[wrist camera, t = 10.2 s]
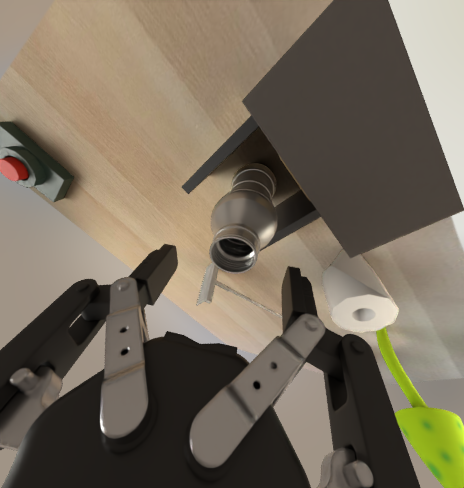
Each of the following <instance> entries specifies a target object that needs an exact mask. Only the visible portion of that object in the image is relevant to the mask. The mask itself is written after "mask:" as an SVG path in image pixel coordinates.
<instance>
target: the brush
mask: <svg viewBox="0 0 464 488" xmlns="http://www.w3.org/2000/svg"><path fill="white" fill-rule="evenodd" d="M218 269H219V268H218V267H216V266H215V265H214V263H213V262H212V263H211V264H210V265H209V266H208V267H206V271H205V272H206V273H205V275H204V276H205V277H203V278H204V279H203V280H204V281H202V282H203V283H202V285H201V290H200V291H201V292H199V293H200V294H199V297H198V298H199V299H197V300H198V301H197V304H196V305H199V304H201V303H203V302H207V303H211V302H212V297H213V292H214V288H215V285H217V286H219V287H221V288H223V289H225V290H227V291H230V292H232V293H234V294H236V295H238V296H240V297H242V298H244V299H246V300H248V301H250V302H251V303H253V304H255V305H257V306H259V307H261V308H263V309H265V310H267V311H269V312H271V313H273V314H275V315H277V316H279V317H281V318H282V315H281V314H279V313H277V312H275V311H273V310H271V309H269V308H267V307H265V306H263V305H261V304H260V303H258V302H256V301H254V300H252V299H250V298H248V297H246V296H244V295H242V294H240V293H238V292H237V291H235V290H233V289H231V288H230V287H228V286H226V285H224V284H222V283H220V282H218V281H217V280H216V278H217V274H218Z"/></svg>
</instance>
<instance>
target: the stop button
mask: <svg viewBox="0 0 464 488" xmlns="http://www.w3.org/2000/svg"><path fill="white" fill-rule="evenodd" d="M0 171H1V173H2V174H3V175H4V176H5V177H7V178H8V179H10V180H12V181H19V180H23V179H27V178H28V177H29V174H28V171H27V169H26V167H25V166H24V165H23V163H22V162H20V161H19V160H18V159H17V158H14V157H9V158H2V159H0Z"/></svg>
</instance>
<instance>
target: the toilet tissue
mask: <svg viewBox="0 0 464 488" xmlns="http://www.w3.org/2000/svg"><path fill="white" fill-rule="evenodd" d="M322 286H323V290H324V293H325V297H326V301H327V304H328V308H329V312H330V315H331V319H332V320H333V321H334V322H335V323H336V324H337V325H338V326H339V327H340V328H342V329H346V330H350V331H354V332H368V331H377V330H380V329H382V328H384V327H386V326H388V325H390V324H392V323H393V322H395V319H396V317H397V314H398V312H399V309H398V307H397V305H396V304H395V302H394V301H393V299H392V297H391V296H390V294H389V293H388V291H387V290H386V288H385V286H384V285H383V283H382V282H381V280H380V279H379V277H378V275H377V274H376V272H375V271H374V270H373V269H372V267H371V266H370V265H369V264H368V263H367V262H366V260H365V259H364V258H363V257H362V256H361V255H357V256H355V257H353V258H350V257H349V256H348V254H347V253H346V252H345V250H344V249H343V250H342V251H341V252H340V253H339V254H338V256H337V257H336V258H335V259H334V261H333V262H332V263H331V264H330V266H329V267H328V268H327V269H326V270H325V271H324V272H323V274H322Z"/></svg>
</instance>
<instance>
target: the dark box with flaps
mask: <svg viewBox="0 0 464 488" xmlns="http://www.w3.org/2000/svg"><path fill="white" fill-rule="evenodd" d="M242 102H243V104H244V105H245V107H246V108H247V109H248V111H249V112H250V114H251V116H250V117H249V118H248V119H247V121H246V122H245V123H244V124H243V125H242V126H241V127H240V128H239V129H238V130H237V131H236V132H235V133H234V134H233V135H232V136H231V137H230V138H229V139H228V140H227V141H226V142H225V143H224V144H223V145H222V146H221V147H220V148H219V149H218V150H217V151H216V152H215V153H214V154H213V155H212V156H211V157H210V158H209V159H208V160H207V161H206V162H205V163H204V164H203V165H202V166H201V167H200V168H199V169H198V170H197V171H196V173H195V174H194V175H193V176H192V177H191V178H190V179H189V180H188V181H187V182H186V183H185V184H184V185H183V186H182V188H183V189H184V190H185V191H186V192H187V193H188V194H189V193H190V192H191V191H192V190H194V189H195V188H196V187H197V186H198V185H199V184H200V183H201V182H202V181H203V180H204V179H206V178H207V177H208V176H209V175H210V174H211V173H212V172H213V171H214V170H215V169H216V168H217V167H218V166H219V165H220V164H221V163H222V162H223V161H225V160H226V159H227V158H228V157H229V156H230V155H231V154H232V153H233V152H234V151H235V150H236V149H237V148H238V147H239V146H240V145H241V144H242V143H243V142H244V141H245V140H246V139H247V138H249V137H250V136H251V135H252V134H253V133H254V132H255V131H256V130H257V129H258V128H259V127H260V128H261V130H262V131H263V133H264V134H265V136H266V137H267V138H268V140H269V141H270V143H271V144H272V146H273V147H274V149H275V150H276V152H277V153H278V154H279V157H280V159H281V161H282V162H283V164H284V165H285V166H286V168H287V169H288V171H289V172H290V174H291V175H292V177H293V178H294V179H295V181H296V182H297V184H298V185H299V187H300V188H301V190H300V191H298V192H297V193H295V194H294V195H292V196H291V197H289V198H288V199H286V200H285V201H283V202H282V203H280V204H279V205H277V206H276V207H274V209H275V211H276V216H277V229H276V232H275V234H274V236H273V238H272V239H271V241H270V242H269V243H268V244H267V245H266V246H265V247H264V248H262V249H260V251H261V250H263V249H265V248H266V247H268V246H270V245H272V244H273V243H275V242H277V241H279V240H280V239H282V238H284V237H286V236H288V235H289V234H291V233H293V232H295V231H296V230H298V229H300V228H302V227H303V226H305V225H307V224H309V223H311V222H312V221H314V220H316V219H318V218H319V217H322V218H323V220H324V221H325V223H326V224H327V225H328V227H329V228H330V230H331V231H332V233H333V234H334V236H335V237H336V239H337V240H338V241H339V243H340V244H341V246H342V247H343V249H344V250H345V252H346V253H347V254H348V256H349V257H350V258H353V257H355V256H357V255H360V254H362V253H365V252H367V251H369V250H372V249H374V248H376V247H379V246H381V245H384V244H386V243H388V242H391V241H393V240H395V239H398V238H400V237H403V236H405V235H407V234H410V233H412V232H414V231H417V230H419V229H421V228H424V227H426V226H429V225H431V224H433V223H436V222H438V221H440V220H443V219H445V218H448V217H450V216H452V215H455V214H457V213H459V212H462V211H464V208H463V205H462V202H461V199H460V197H459V194H458V191H457V189H456V186H455V183H454V180H453V177H452V175H451V172H450V169H449V166H448V164H447V161H446V158H445V155H444V153H443V150H442V147H441V144H440V142H439V139H438V136H437V134H436V131H435V128H434V125H433V122H432V120H431V117H430V114H429V111H428V109H427V106H426V103H425V100H424V98H423V95H422V92H421V90H420V87H419V84H418V81H417V78H416V76H415V73H414V70H413V68H412V65H411V62H410V59H409V56H408V54H407V51H406V48H405V46H404V43H403V40H402V37H401V34H400V32H399V29H398V26H397V23H396V21H395V18H394V15H393V12H392V10H391V7H390V4H389V2H388V0H333V1H332V3H331V4H330V5H329V6H328V7H327V8H326V9H325V10H324V11H323V12H322V14H321V15H320V16H319V17H318V18H317V19H316V20H315V21H314V22H313V23H312V25H311V26H310V27H309V28H308V29H307V30H306V31H305V32H304V33H303V34H302V36H301V37H300V38H299V39H298V40H297V41H296V42H295V43H294V44H293V45H292V47H291V48H290V49H289V50H288V51H287V52H286V53H285V54H284V55H283V56H282V58H281V59H280V60H279V61H278V62H277V63H276V64H275V65H274V66H273V67H272V69H271V70H270V71H269V72H268V73H267V74H266V75H265V76H264V77H263V78H262V80H261V81H260V82H259V83H258V84H257V85H256V86H255V87H254V88H253V89H252V91H251V92H250V93H249V94H248V95H247V96H246V97H245V98H244V99H243V101H242Z"/></svg>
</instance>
